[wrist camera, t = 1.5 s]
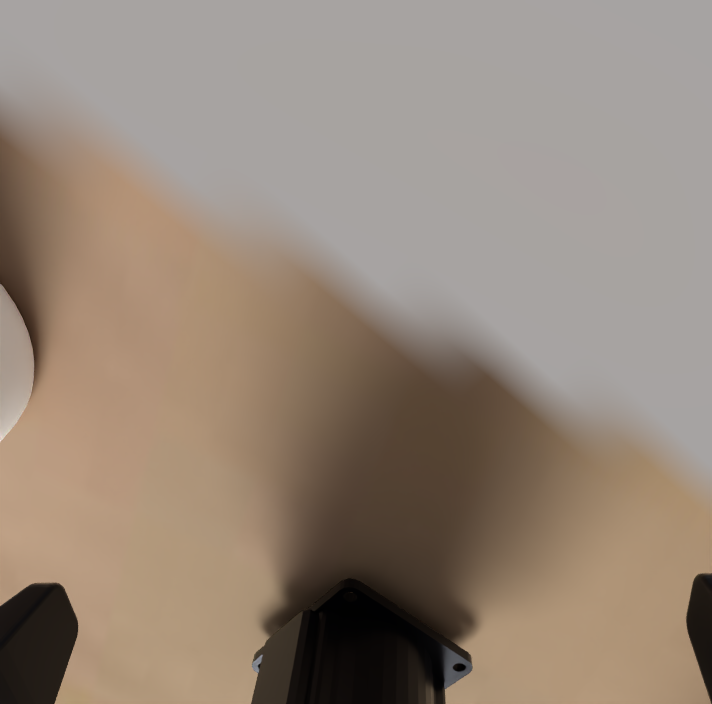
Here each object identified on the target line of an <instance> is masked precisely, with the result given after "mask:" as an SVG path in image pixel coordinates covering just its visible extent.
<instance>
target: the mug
mask: <svg viewBox="0 0 712 704" xmlns="http://www.w3.org/2000/svg"><path fill="white" fill-rule="evenodd" d="M33 382H34V356H33V348H32V344H31V340H30V337H29V333H28V330H27V328H26V325H25V323H24V320H23V318H22V316H21V314H20V312H19V310H18V309H17V307H16V305H15V303H14V301H13V300H12V299H11V297H10V296H9V294H8V293H7V291H6V290H5V289H4V287H3V286H2V285H1V284H0V441H1V440H2V439H3V438H4V437H5V436H6V435H7V434H8V432H9V431H10V430H11V429H12V428H13V427H14V426H15V424H16V423H17V421H18V420H19V418H20V416H21V415H22V413H23V411H24V410H25V408H26V406H27V404H28V401H29V399H30V396H31V392H32V387H33Z"/></svg>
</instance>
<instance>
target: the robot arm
mask: <svg viewBox="0 0 712 704" xmlns="http://www.w3.org/2000/svg"><path fill="white" fill-rule="evenodd" d="M348 592H353V593H348ZM686 623H687V630H688V634H689V638H690V641H691V644H692V647H693V650H694V653H695V656H696V659H697V662H698V665H699V668H700V671H701V674H702V677H703V680H704V683H705V686H706V689H707V692H708V695H709V698H710V701H711V704H712V573H704V574H698V575H697V576H696V577H695V578H694V581H693V585H692V590H691V595H690V600H689V605H688V610H687V616H686ZM77 634H78V621H77V617H76V615H75V613H74V610H73V608H72V606H71V603H70V601H69V598H68V596H67V594H66V591H65V589H64V587H63V586H62V585H60V584H59V583H34V584H31V585H29V586H28V587H26V588H25V589H23V590H22V591H20V592H19V593H18V594H16V595H15V596H14V597H12V598H11V599H9V600H8V601H7V602H5V603H4V604H3V605H1V606H0V704H54V703H55V700H56V697H57V694H58V691H59V689H60V686H61V683H62V680H63V677H64V674H65V671H66V668H67V665H68V662H69V659H70V656H71V653H72V650H73V647H74V644H75V641H76V638H77ZM252 667H253V669H254V671H256V672H257V673H258V677H257V681H256V686H255V690H254V694H253V698H252V702H251V704H445V689H446V688H447V687H449V686H451V685H452V684H454V683H455V682H457V681H458V680H460V679H461V678H463V677H464V676H466V675H467V674H469V673H470V672H471V671H472V659H471V655H470V654H469V653H468V652H466V651H465V650H463V649H462V648H460V647H459V646H457V645H456V644H454V643H453V642H451V641H450V640H448V639H447V638H445V637H444V636H442V635H441V634H439V633H438V632H436V631H434V630H433V629H431V628H430V627H428V626H427V625H425V624H424V623H422V622H421V621H419V620H418V619H416V618H415V617H413V616H412V615H410V614H409V613H407V612H406V611H404V610H403V609H401V608H399V607H398V606H396V605H395V604H393V603H392V602H390V601H389V600H387V599H386V598H384V597H383V596H381V595H380V594H378V593H377V592H375V591H374V590H372V589H371V588H369V587H368V586H366V585H364V584H363V583H361V582H360V581H358V580H356V579H345V580H343V581H341V582H340V583H338V584H337V585H336V586H335V587H334V588H332V589H331V590H330V591H329V592H328V593H327V594H325V595H324V596H323V597H322V598H321V599H319V600H318V601H317V602H316V603H315V604H313V605H312V606H311V607H310V608H308V609H305V610H303V611H301V612H300V613H299V614H298V615H296V616H295V617H294V618H293V619H292V620H290V621H289V622H288V623H287V624H286V625H284V626H283V627H282V628H281V629H280V630H279V631H277V632H276V633H275V634H274V635H273V636H271V637H270V638H269V639H268V640H267V641H266V643H265V645H264V646H263V647H262V648H261V649H260V650H258V651H257V652H256V654H255V655H254V659H253V663H252Z"/></svg>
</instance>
